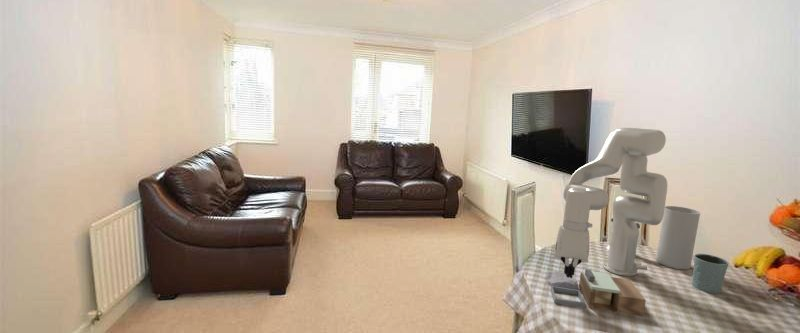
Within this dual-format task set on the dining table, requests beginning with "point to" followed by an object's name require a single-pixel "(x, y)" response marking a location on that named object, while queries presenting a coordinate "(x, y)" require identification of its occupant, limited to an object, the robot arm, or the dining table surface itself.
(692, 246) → the cylinder vase
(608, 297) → the birch block
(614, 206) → the robot arm
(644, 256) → the dining table surface
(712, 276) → the teal plant pot
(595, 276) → the sliding lid
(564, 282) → the stone block
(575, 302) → the gray tray
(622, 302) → the brown open box
